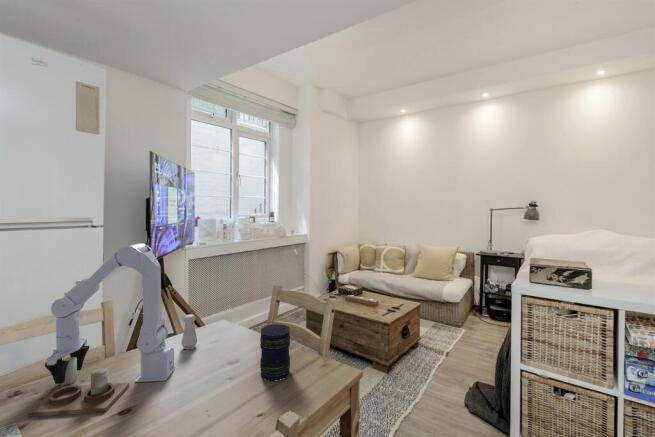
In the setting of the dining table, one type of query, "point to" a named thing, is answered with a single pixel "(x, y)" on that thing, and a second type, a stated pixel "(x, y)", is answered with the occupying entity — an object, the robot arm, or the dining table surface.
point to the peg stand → (82, 397)
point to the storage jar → (275, 352)
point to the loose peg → (70, 371)
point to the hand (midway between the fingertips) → (68, 376)
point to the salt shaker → (189, 333)
